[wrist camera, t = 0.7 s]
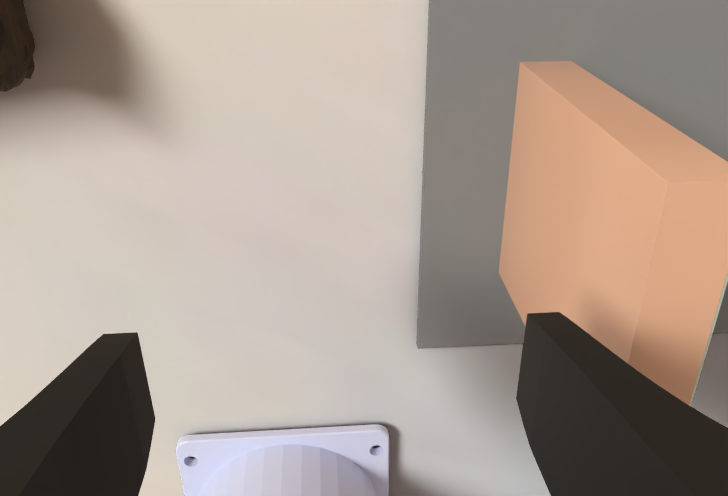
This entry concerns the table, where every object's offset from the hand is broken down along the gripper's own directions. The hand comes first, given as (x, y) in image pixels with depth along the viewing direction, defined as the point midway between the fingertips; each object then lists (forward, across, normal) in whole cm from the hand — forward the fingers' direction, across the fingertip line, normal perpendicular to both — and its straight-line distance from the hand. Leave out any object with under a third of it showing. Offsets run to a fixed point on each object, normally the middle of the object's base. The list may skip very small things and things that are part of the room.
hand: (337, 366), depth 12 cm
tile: (+9, -6, 0) cm, 11 cm away
